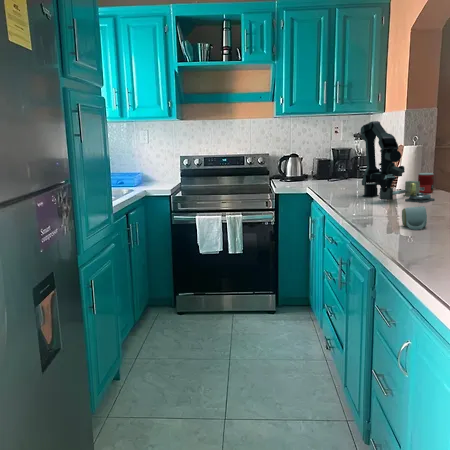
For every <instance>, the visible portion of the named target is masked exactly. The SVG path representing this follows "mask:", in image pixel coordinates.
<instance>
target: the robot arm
mask: <svg viewBox="0 0 450 450" xmlns="http://www.w3.org/2000/svg"><path fill="white" fill-rule="evenodd" d="M360 134H361V138H362V140H364V142H365V143H364V144H365V158H366V169H365V170H364V172H363V174H364V175H363V177H362V180H361V186H364V189H363V193H364V194H363V195H361V196H362V197H366V198H367V197H369V198H373V197H374V198H375V197H380V194H378V191H379V190H378V189H379V188H381V189H382V191H383V192H385V191H386V188H392V185H393V183H394V181H395V180H396V179H397V178H399V177H403V173H405V166H404V165H399V166H396V164H395V163H398V162H399V161H401V159H402V153H401V152H400V151H399V143H398V142H397V139H396V137H395V136H394V135H393V134H392V133H388V132H387V131H386V130H385V128H384V127H383V126H382V124H381V121H379V120H377V121H376V120H375V121H374V120H373V121H370V122H369V123H366V124H363V125H362V126H361V127H360ZM376 137H377V139H378V141H377V143H378V146H379V147H380V150H379V152H380V163H378V165H379V166H380V168H378V167H377V162H376V148H375V147H376V145H375V139H376ZM378 186H379V188H378Z"/></svg>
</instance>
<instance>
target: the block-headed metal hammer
mask: <svg viewBox="0 0 450 450" xmlns="http://www.w3.org/2000/svg"><path fill="white" fill-rule="evenodd" d="M405 193H407V190H406V189H401V190H396V191H394V188H393V187H391V188H386V191H385V192H383V191H382V189H381V187H379V200H385V201H393V198H394V197H393V196H395V195H396V196H397V195H400V194H405Z"/></svg>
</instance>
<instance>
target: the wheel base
mask: <svg viewBox="0 0 450 450" xmlns="http://www.w3.org/2000/svg"><path fill="white" fill-rule="evenodd" d="M404 201H405V202H411V203H412V202H413V203H419V204H421V203H422V204H425V203H430V202H434V201H435V198H434V197H433V198H432V197H431V198H430V199H426V200H415V199H409V198H405V199H404Z"/></svg>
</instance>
